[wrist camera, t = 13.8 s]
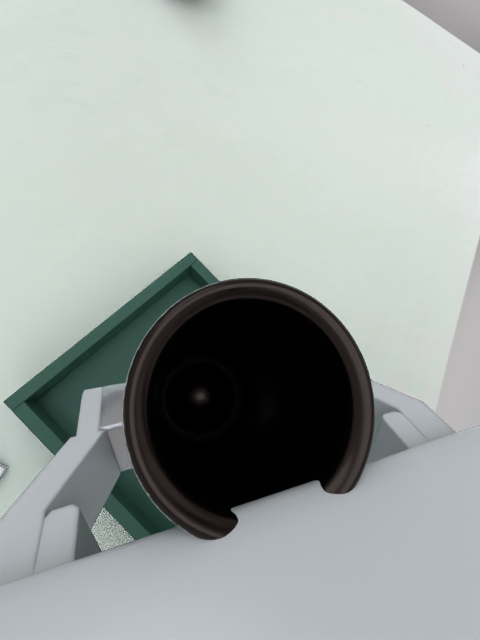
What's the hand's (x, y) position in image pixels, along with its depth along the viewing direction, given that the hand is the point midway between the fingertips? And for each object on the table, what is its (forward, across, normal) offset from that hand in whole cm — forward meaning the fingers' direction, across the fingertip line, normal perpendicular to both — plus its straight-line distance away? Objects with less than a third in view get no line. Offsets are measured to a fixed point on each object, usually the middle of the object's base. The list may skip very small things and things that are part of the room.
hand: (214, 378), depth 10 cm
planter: (+4, 0, -4) cm, 6 cm away
